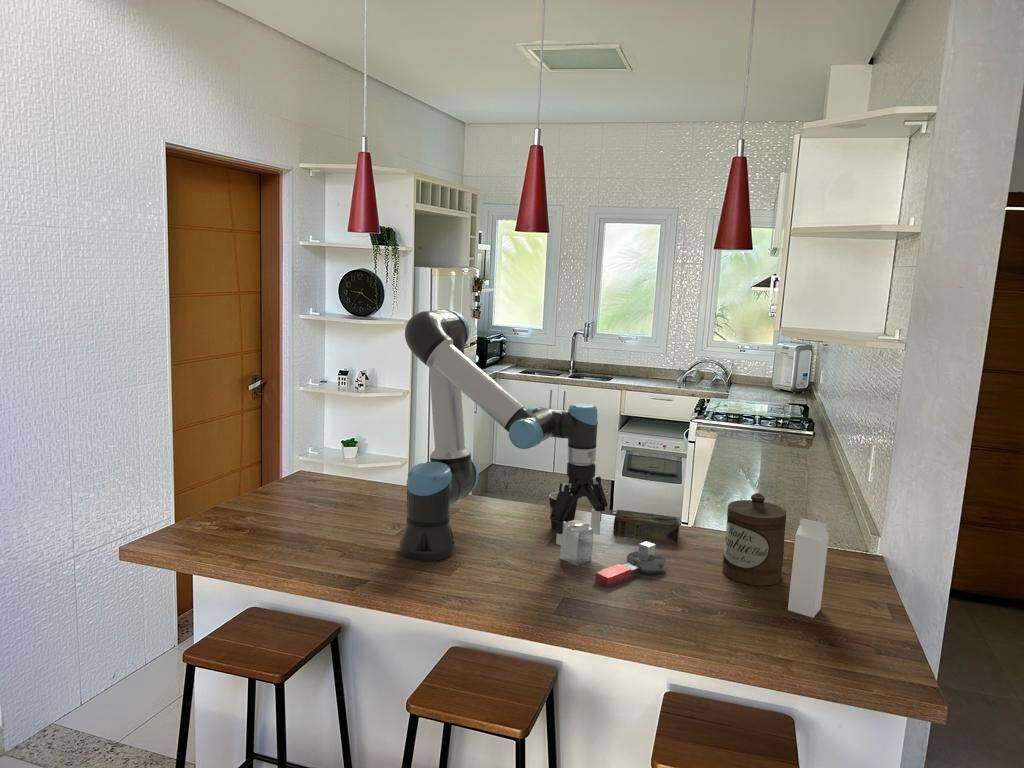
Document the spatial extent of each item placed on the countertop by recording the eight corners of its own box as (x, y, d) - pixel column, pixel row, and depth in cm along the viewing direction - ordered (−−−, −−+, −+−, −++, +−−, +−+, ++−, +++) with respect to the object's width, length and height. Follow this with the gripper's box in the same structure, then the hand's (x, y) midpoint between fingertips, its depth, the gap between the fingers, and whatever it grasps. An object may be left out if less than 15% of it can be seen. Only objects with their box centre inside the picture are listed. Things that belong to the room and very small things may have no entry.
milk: (795, 602, 184) (804, 514, 181) (821, 609, 181) (830, 520, 177) (787, 610, 179) (796, 521, 176) (813, 618, 176) (823, 527, 172)
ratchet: (616, 591, 186) (618, 566, 185) (586, 578, 193) (587, 554, 192) (672, 568, 201) (674, 545, 200) (642, 557, 208) (643, 534, 207)
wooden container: (710, 570, 201) (717, 490, 198) (744, 559, 210) (751, 482, 207) (758, 591, 190) (766, 506, 186) (792, 578, 199) (801, 497, 195)
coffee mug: (574, 534, 223) (576, 502, 222) (545, 531, 225) (547, 499, 223) (579, 521, 235) (580, 490, 233) (551, 518, 236) (553, 487, 235)
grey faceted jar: (576, 565, 201) (578, 529, 199) (560, 558, 205) (561, 523, 203) (591, 560, 205) (593, 525, 203) (575, 553, 209) (577, 518, 207)
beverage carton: (678, 545, 219) (680, 523, 218) (612, 537, 223) (613, 516, 222) (679, 536, 227) (680, 514, 226) (614, 528, 231) (616, 507, 230)
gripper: (559, 473, 189) (556, 554, 192) (622, 457, 206) (619, 532, 209) (537, 466, 195) (535, 545, 198) (601, 452, 211) (598, 525, 215)
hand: (578, 539), depth 204 cm, fingers open, 13 cm apart
